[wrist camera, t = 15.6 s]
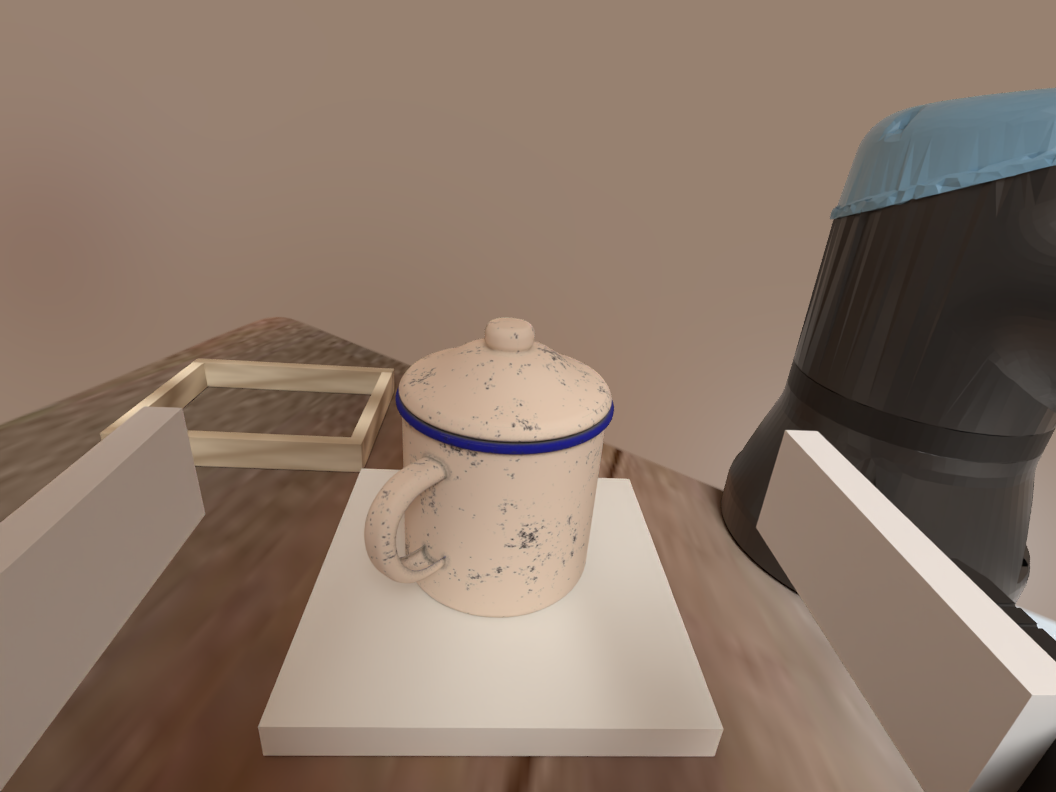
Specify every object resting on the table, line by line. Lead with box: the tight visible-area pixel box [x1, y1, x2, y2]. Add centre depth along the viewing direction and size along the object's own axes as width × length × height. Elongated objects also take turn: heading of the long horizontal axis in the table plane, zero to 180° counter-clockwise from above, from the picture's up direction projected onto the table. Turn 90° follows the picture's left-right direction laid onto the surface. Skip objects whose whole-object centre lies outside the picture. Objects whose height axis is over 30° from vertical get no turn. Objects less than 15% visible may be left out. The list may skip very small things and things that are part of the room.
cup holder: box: [100, 359, 394, 472], centre depth 40 cm, size 12×15×2 cm
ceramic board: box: [258, 468, 723, 756], centre depth 27 cm, size 16×16×2 cm
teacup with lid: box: [364, 317, 614, 618], centre depth 24 cm, size 12×9×12 cm
